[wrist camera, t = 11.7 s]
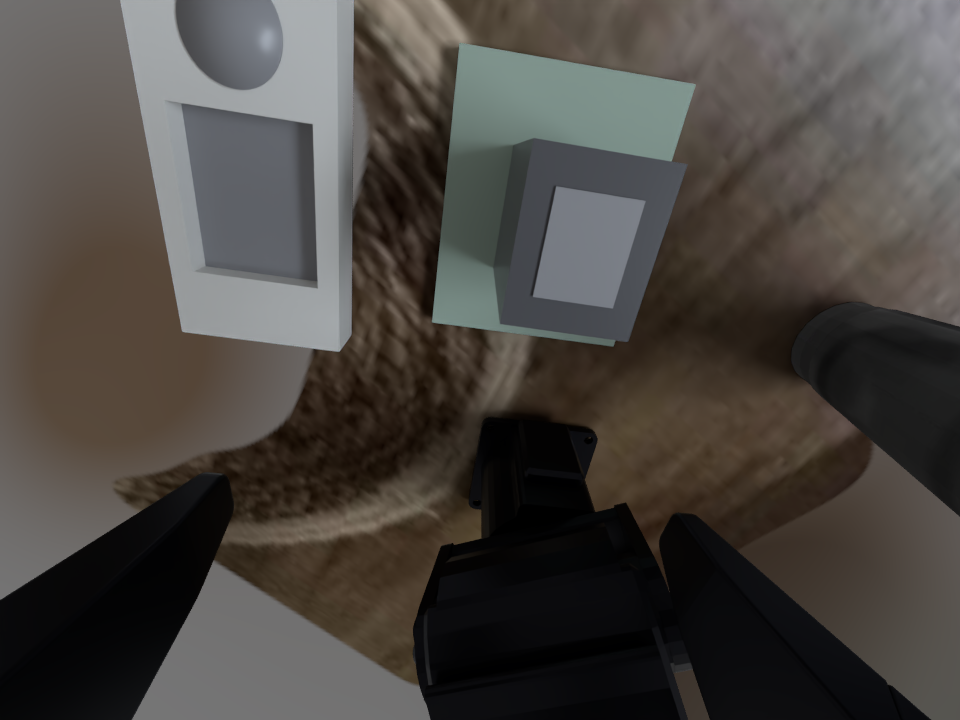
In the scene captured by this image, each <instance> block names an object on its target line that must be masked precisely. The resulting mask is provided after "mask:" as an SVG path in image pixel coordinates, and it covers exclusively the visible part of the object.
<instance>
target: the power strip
mask: <svg viewBox="0 0 960 720" xmlns="http://www.w3.org/2000/svg"><path fill="white" fill-rule="evenodd" d="M120 3H121V9H122V14H123V19H124V24H125V30H126V35H127V40H128V46H129V51H130V56H131V62H132V67H133V72H134V78H135V83H136V88H137V94H138V99H139V104H140V109H141V115H142V120H143V126H144V131H145V136H146V142H147V147H148V152H149V158H150V163H151V168H152V173H153V179H154V184H155V189H156V195H157V200H158V205H159V211H160V216H161V221H162V226H163V232H164V237H165V243H166V248H167V253H168V259H169V264H170V269H171V275H172V280H173V285H174V291H175V296H176V301H177V306H178V312H179V317H180V323H181V328H182V332H187V333H196V334H203V335H211V336H219V337H227V338H234V339H243V340H250V341H258V342H266V343H274V344H281V345H290V346H297V347H306V348H313V349H321V350H328V351H336V352H340V350H341V349H342V348H343V346H344V345H345V343H346V342H347V341H348V339H349V338H350V337H351V335H352V194H353V190H352V188H353V182H352V181H353V47H354V0H120Z"/></svg>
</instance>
